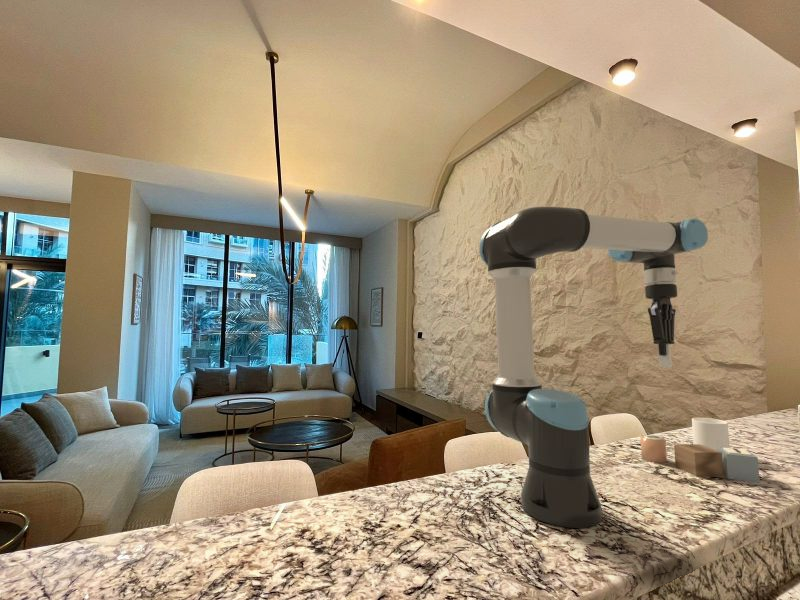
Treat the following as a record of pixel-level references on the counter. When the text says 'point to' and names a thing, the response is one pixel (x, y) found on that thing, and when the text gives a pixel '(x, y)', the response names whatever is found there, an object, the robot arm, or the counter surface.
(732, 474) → the slate block
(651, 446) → the terracotta cylinder
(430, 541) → the counter surface
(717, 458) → the walnut block
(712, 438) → the cup
